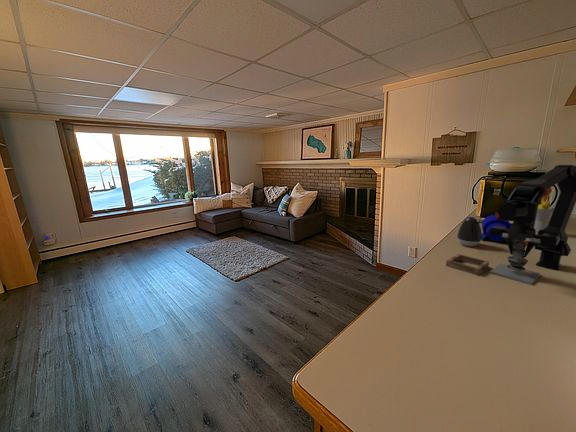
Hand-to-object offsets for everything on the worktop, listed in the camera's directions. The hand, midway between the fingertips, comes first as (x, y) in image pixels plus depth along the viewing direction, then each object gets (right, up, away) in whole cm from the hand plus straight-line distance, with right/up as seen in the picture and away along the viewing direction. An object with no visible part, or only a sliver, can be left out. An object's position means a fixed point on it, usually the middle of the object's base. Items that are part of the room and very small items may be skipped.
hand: (518, 255), depth 92 cm
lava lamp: (+55, +5, +45) cm, 72 cm away
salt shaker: (0, -5, +1) cm, 5 cm away
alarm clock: (+24, +2, +38) cm, 45 cm away
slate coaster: (0, -8, +2) cm, 8 cm away
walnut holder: (-13, -6, +10) cm, 17 cm away
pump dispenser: (+6, 0, +34) cm, 34 cm away
